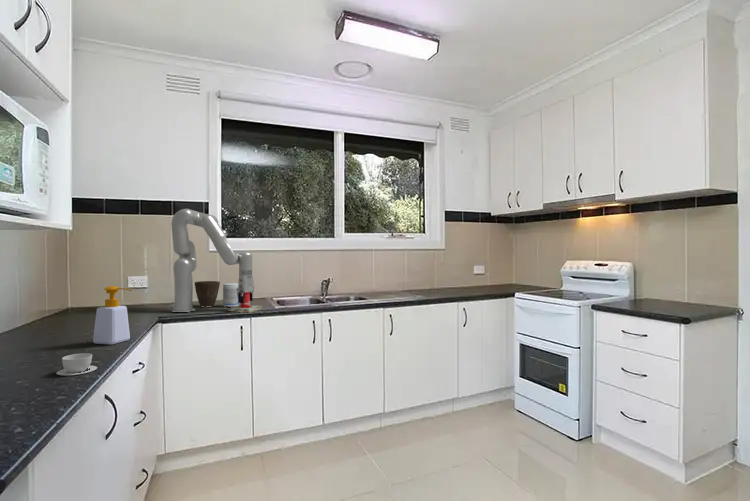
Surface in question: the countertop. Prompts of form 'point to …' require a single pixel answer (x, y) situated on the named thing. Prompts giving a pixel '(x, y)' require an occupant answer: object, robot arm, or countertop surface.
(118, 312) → the soap bottle
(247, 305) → the beverage can
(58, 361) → the countertop surface
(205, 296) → the plant pot
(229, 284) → the supplement tub
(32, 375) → the countertop surface
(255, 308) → the base plate
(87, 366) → the teacup
